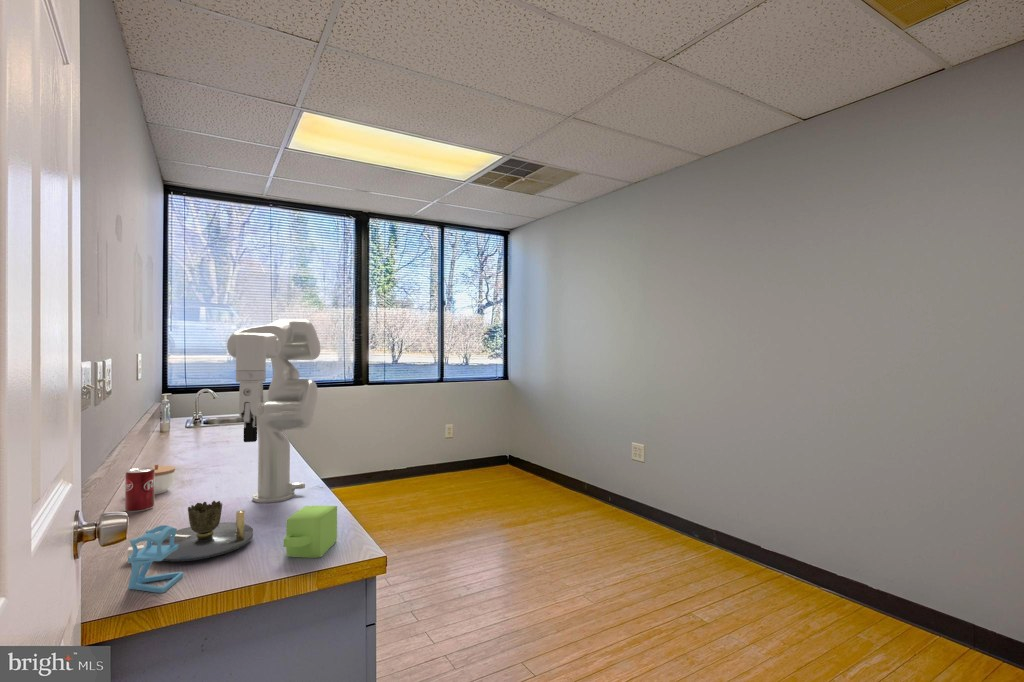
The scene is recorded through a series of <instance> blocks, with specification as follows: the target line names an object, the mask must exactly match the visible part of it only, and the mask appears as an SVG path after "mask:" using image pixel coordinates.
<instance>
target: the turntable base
mask: <svg viewBox="0 0 1024 682" xmlns="http://www.w3.org/2000/svg"><path fill="white" fill-rule="evenodd" d="M136 546H137V548H138V552H139V551H140V550H141V549H143V548H144V547H145V544H141V545H136ZM132 554H133V548H132V546H129V547H128V548H127V558H128V557H130V556H131V555H132ZM127 564H131V563H130V562H128V561H127Z"/></svg>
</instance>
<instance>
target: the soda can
mask: <svg viewBox="0 0 1024 682" xmlns="http://www.w3.org/2000/svg"><path fill="white" fill-rule="evenodd" d="M151 467H152V466H150V467H145V466H144V467H137V468H132V469H128V470H127V471H126V472H125V476H124V478H125V483H124V487H125V488H124V489H125V490H124V510H125V511H126V512H127V513H140V512H145V511H146V512H147V511H149V510H151V509H153V508H154V506H155V495H156V494H155V470H154V469H153V468H151Z"/></svg>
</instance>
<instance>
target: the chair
mask: <svg viewBox="0 0 1024 682" xmlns="http://www.w3.org/2000/svg"><path fill="white" fill-rule="evenodd" d="M177 530H178V528H176V527H173V526H171V525H164V524H163V525H159V526H156V527H154V528H152V529H150V530H145V531H144V532H145V534H143V535H140V536H139V537H137V538H134V539H129V542H130V545H131V547H132V548H133V554H132V555H131V556H130V557H128V556H127V563H128V562H130V563H129V564H131V570H130V572H131V573H130V577H129V581H128V587H127V589H128V590H135V591H136V590H137V591H144V592H150V593H157V594H163V593H165V592H166V591H168V590H169V589H170V588H171V587H172V586H174V585H175V584H176V583H177V582H179V580H181V579H183V577H184V572H183V571H177V572H171V573H169V572H168V573H162V574H156V575H150V576H146V575H147V573H148V571H149V570H150V567H151V565H152V563H153V562H163V561H162V560H163V559H165V558H166V557H167V556H168V555H169V554H171V553H172V552H174V551H176V550H177V549H179V545H175V543H174V538H175V535H176V531H177ZM171 535H172V536H171ZM169 536H171V538H170V542H169V543H170V545H163V546H161V545H162V542H163V541H164V540H165V539H166V538H167V537H169ZM141 542H146V546H144V548H143V549H141V550H140V551H139V552H138V548H137V546H138V545H137V544H139V543H141ZM152 542H154V543H157V544H158V545H152ZM169 579H170V580H169ZM164 580H169V581H168V582H166V584H164V585H163V586H158V585H152V584H146V583H149V582H151V583H152V582H157V581H164Z"/></svg>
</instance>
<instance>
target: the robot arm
mask: <svg viewBox="0 0 1024 682" xmlns="http://www.w3.org/2000/svg"><path fill="white" fill-rule="evenodd" d="M226 347H227V348H226V349H227V352H228V354H229V356H231V357H232V358H235V382H236V383H237V384H238V383H239V393H238V394H239V395H238V396H239V397H238V415H239V417H240V418H241V419H243V442H244V443H256V441H257V442H258V444H257V445H258V446H257V449H258V450H257V459H258V460H257V492H255V493H254V494H253V495H252V501H253V502H256V503H260V504H261V503H262V504H265V503H266V504H270V503H271V504H272V503H279V502H284V501H287V500H290V499H292V498H293V497H294V496H295V495H296V494H295V491H296V490H302V489H305V488H306V483H305V482H297V481H296V482H293V483H292V481H291V480H290V479H291V478H290V477H291V474H290V473H291V465H290V464H291V461H290V460H291V443H290V441H289V438H288V437H287V435H286V434H285V433H284V432H285V431H301V430H302V431H304V430H307V429H309V428H310V426H311V425H312V422H313V419H314V414H315V411H316V406H317V400H318V385H317V383H316V382H315V380H313V379H309V378H300V372H299V370H298V368H296V367H297V366H295V365H294V364H293V363H291V361H313V360H316V359H318V358H319V356H320V354H321V343H320V340H319V337H318V334H317V330H316V329H315V326H314V324H313V323H312V322H311V321H310V320H307V319H289V318H282V319H281V318H280V319H276V320H275V321H272V322H271V323H268V324H265V325H259V326H254V327H248V328H243V329H238V330H237V331H234V332H233V333H232V334H231V335H230V336H229V338H228V339H227V342H226ZM266 359H270V361H271V362H270V363H271V366H272V369H273V375H272V378H271V382H270V385H269V387H268V390H267V391H268V392H267V402H264V385H263V383H265V382H267V381H266V374H267V373H266V371H267V370H266V369H267V368H266V367H267V365H266V364H267V363H266V362H267V361H266Z"/></svg>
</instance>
